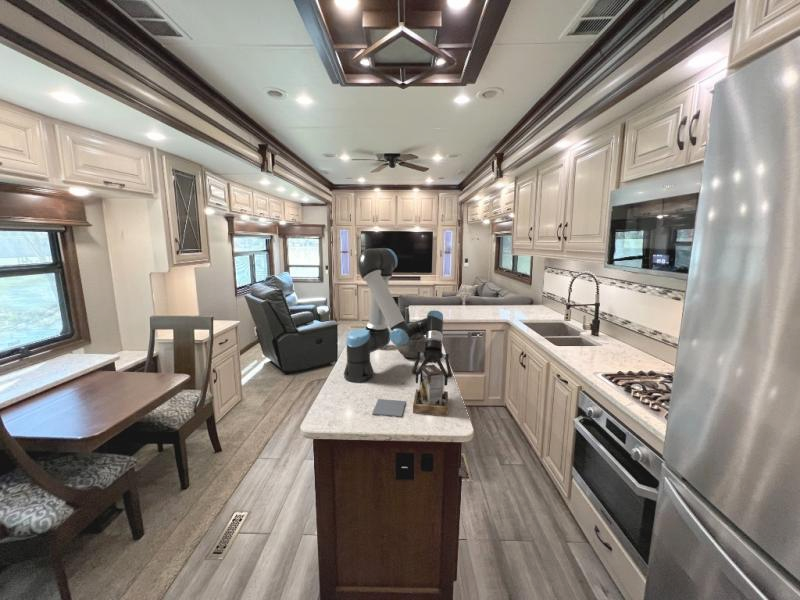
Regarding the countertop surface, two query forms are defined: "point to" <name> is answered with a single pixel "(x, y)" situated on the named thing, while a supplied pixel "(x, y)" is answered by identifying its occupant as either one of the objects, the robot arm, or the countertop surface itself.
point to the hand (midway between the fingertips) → (430, 391)
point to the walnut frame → (431, 406)
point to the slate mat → (389, 407)
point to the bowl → (413, 347)
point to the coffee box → (431, 385)
